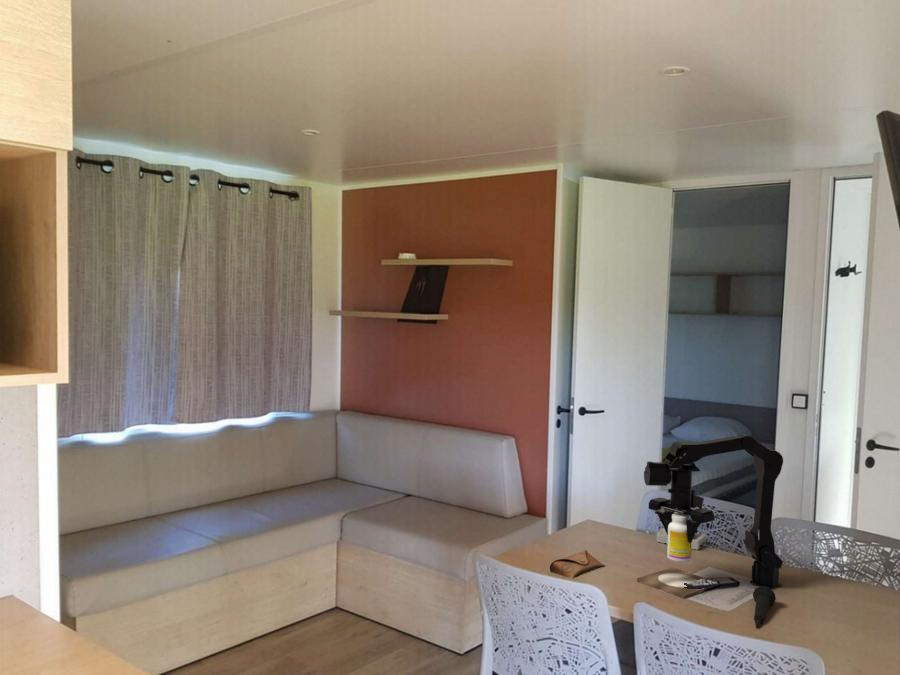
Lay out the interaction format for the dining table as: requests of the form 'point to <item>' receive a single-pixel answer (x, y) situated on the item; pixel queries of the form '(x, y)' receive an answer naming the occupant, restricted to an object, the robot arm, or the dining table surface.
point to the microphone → (762, 603)
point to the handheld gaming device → (695, 544)
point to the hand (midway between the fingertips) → (679, 539)
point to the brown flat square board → (672, 582)
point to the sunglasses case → (575, 565)
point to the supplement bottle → (678, 539)
